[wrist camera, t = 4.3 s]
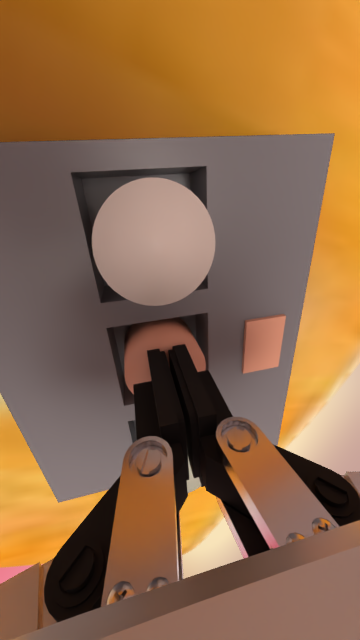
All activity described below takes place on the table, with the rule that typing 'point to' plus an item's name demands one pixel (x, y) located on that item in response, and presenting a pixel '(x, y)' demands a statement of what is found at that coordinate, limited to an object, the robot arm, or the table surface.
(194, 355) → the terracotta button
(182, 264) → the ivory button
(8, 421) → the table surface
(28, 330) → the button box
